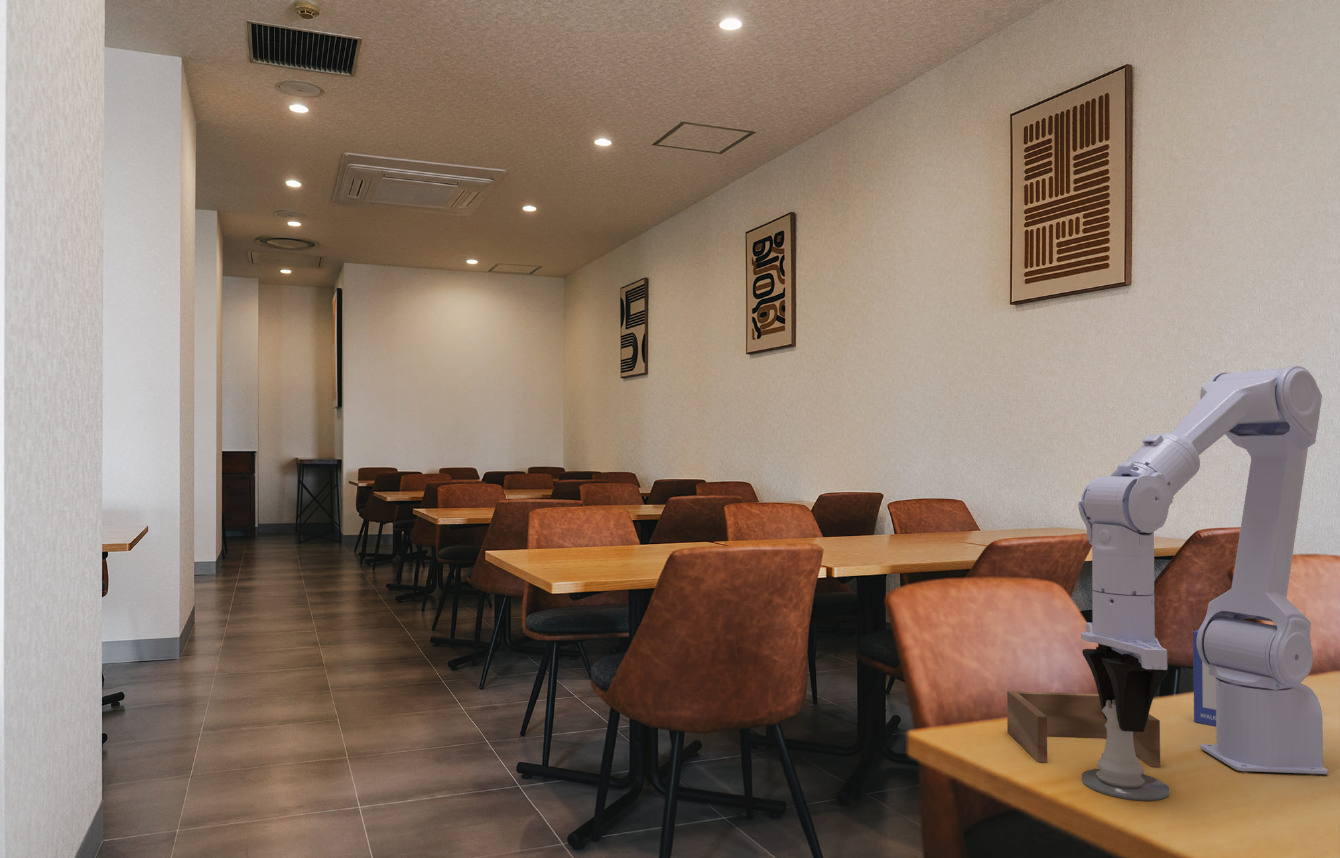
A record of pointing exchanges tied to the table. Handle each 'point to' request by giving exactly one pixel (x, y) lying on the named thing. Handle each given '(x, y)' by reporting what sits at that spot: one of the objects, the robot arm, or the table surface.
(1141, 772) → the rook chess piece
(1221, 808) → the table surface
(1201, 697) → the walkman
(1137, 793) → the coaster
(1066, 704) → the u-shaped barrier
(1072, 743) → the table surface
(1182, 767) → the table surface
